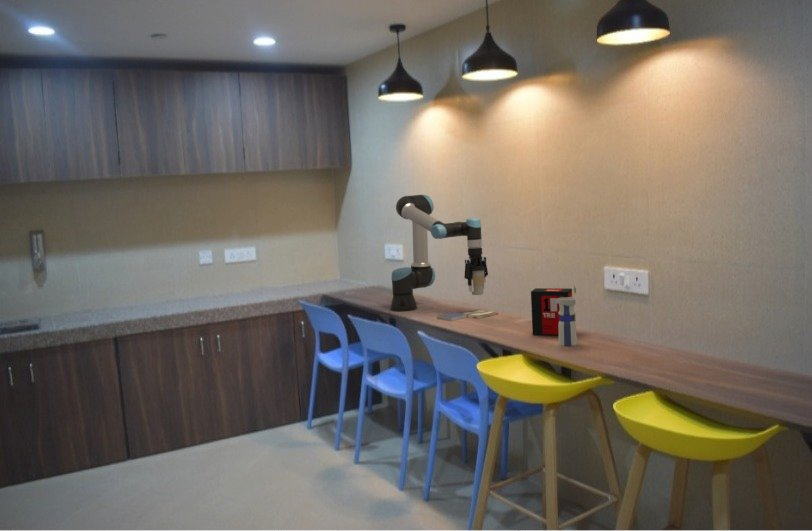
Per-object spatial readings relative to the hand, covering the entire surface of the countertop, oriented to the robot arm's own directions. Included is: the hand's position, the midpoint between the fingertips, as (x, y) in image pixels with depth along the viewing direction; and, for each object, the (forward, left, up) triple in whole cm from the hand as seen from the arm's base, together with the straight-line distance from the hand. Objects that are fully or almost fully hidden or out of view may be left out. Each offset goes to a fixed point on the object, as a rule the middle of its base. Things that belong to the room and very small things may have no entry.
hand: (477, 290), depth 365 cm
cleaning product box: (+60, -12, -14) cm, 63 cm away
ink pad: (-6, -13, -13) cm, 20 cm away
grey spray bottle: (+77, -24, -14) cm, 82 cm away
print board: (0, 0, -13) cm, 13 cm away
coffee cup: (0, 0, -2) cm, 2 cm away
